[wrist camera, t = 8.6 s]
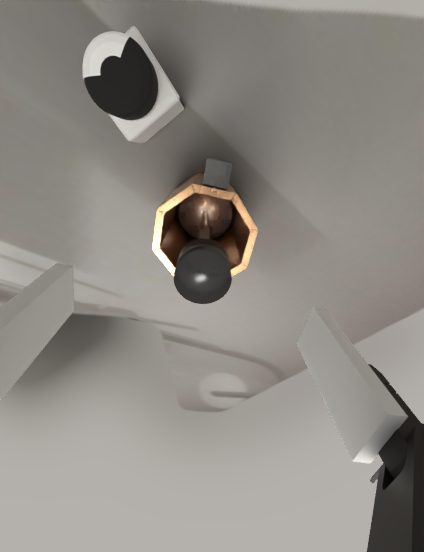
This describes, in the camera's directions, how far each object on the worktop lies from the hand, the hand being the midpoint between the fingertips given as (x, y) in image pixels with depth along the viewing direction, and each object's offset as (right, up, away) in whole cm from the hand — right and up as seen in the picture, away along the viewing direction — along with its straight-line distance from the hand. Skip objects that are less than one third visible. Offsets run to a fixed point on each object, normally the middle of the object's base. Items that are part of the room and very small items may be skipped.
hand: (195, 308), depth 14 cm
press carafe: (0, +12, +24) cm, 27 cm away
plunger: (0, +11, +23) cm, 26 cm away
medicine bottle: (-7, +24, +18) cm, 31 cm away
